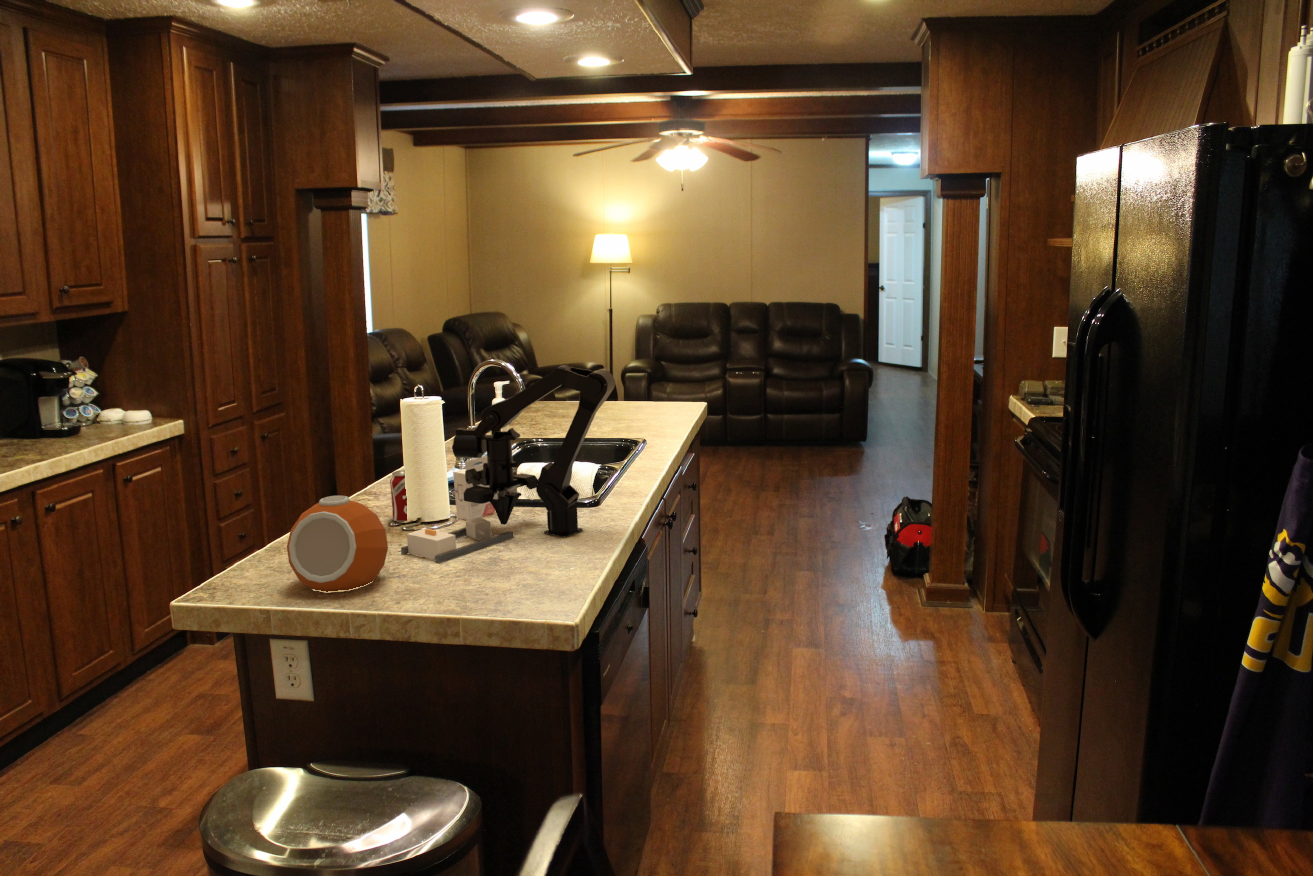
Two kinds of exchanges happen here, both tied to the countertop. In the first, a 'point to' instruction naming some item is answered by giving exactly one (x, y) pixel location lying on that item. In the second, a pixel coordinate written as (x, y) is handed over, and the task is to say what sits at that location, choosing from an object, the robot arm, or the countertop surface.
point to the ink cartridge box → (463, 507)
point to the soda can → (398, 496)
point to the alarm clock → (337, 545)
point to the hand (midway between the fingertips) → (503, 524)
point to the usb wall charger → (478, 528)
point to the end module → (430, 543)
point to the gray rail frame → (469, 547)
